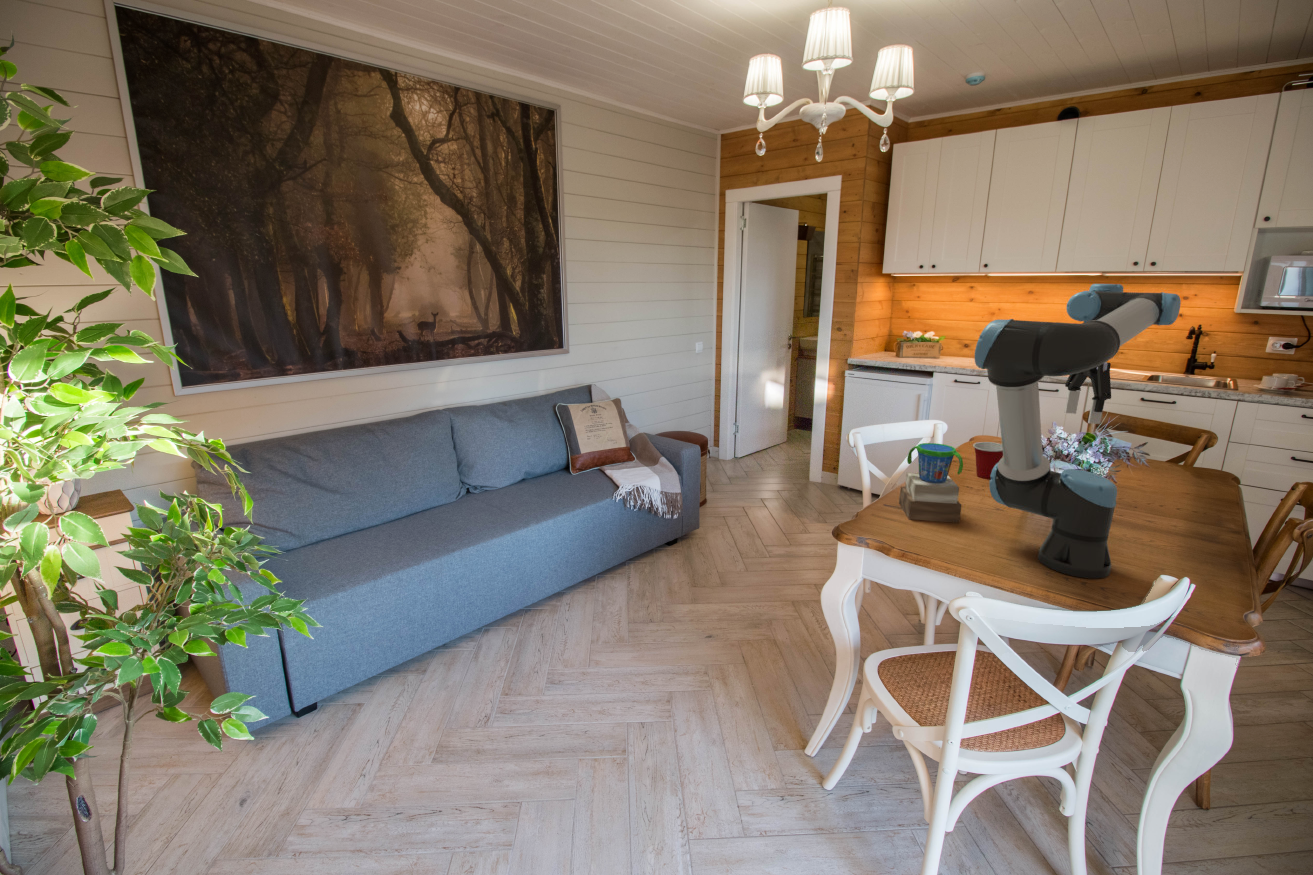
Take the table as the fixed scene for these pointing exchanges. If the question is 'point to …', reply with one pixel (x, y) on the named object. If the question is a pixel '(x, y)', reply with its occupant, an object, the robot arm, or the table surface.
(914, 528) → the table surface
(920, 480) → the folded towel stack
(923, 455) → the snack cup
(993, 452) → the plastic cup
